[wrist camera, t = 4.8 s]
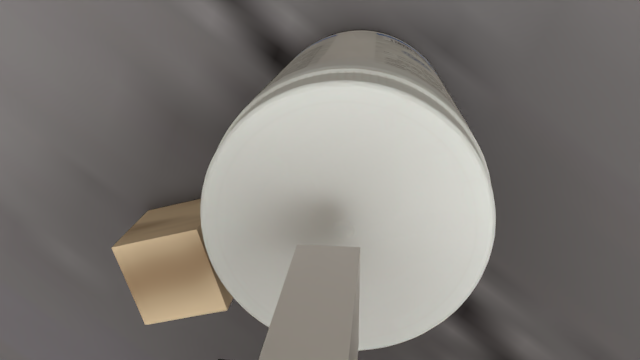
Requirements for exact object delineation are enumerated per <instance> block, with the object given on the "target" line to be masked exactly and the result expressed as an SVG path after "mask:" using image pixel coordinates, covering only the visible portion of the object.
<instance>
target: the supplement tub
mask: <svg viewBox="0 0 640 360" xmlns="http://www.w3.org/2000/svg"><path fill="white" fill-rule="evenodd" d="M200 217H201V228H202V234H203V240H204V244H205V247H206V250H207V253H208V256H209V259H210V261H211V263H212V266H213V268H214V270H215V272H216V273H217V275H218V277H219V279H220V280H221V282H222V283H223V285H224V286H225V288H226V289H227V290H228V292H229V293H230V294H231V295H232V296H233V298H234V299H235V300H236V301H237V302H238V303H239V304H240V305H241V306H242V307H243V308H244V309H245V310H246V311H247V312H248V313H249V314H251V315H252V316H253V317H254V318H256V319H257V320H258V321H260V322H261V323H263V324H264V325H266V326H267V327H270V324H271V321H272V318H273V315H274V312H275V309H276V306H277V303H278V300H279V297H280V294H281V291H282V288H283V285H284V282H285V279H286V276H287V273H288V270H289V267H290V264H291V261H292V258H293V255H294V252H295V249H296V246H297V244H300V245H323V246H346V247H360V296H359V347H358V350H371V349H377V348H384V347H388V346H392V345H396V344H399V343H402V342H405V341H407V340H410V339H413V338H415V337H417V336H419V335H421V334H423V333H425V332H427V331H429V330H430V329H432V328H434V327H435V326H437V325H438V324H440V323H441V322H443V321H444V320H445V319H447V318H448V317H449V316H450V315H451V314H453V313H454V312H455V311H456V310H457V309H458V308H459V307H460V306H461V305H462V304H463V303H464V301H465V300H466V299H467V298H468V297H469V295H470V294H471V293H472V291H473V290H474V288H475V287H476V285H477V284H478V282H479V280H480V278H481V277H482V274H483V272H484V270H485V268H486V266H487V263H488V261H489V258H490V254H491V251H492V247H493V242H494V237H495V227H496V211H495V202H494V195H493V191H492V187H491V181H490V175H489V171H488V168H487V164H486V161H485V158H484V155H483V153H482V151H481V149H480V147H479V145H478V143H477V141H476V139H475V138H474V136H473V134H472V133H471V131H470V129H469V127H468V125H467V123H466V122H465V120H464V118H463V117H462V115H461V114H460V112H459V110H458V109H457V107H456V105H455V104H454V102H453V100H452V98H451V97H450V95H449V94H448V92H447V90H446V89H445V87H444V86H443V84H442V82H441V81H440V79H439V77H438V75H437V74H436V72H435V71H434V69H433V67H432V66H431V65H430V63H429V62H428V61H427V60H426V59H425V57H424V56H422V55H421V54H420V53H419V52H418V51H417V50H415V49H414V48H413V47H411V46H410V45H409V44H407V43H405V42H403V41H402V40H400V39H398V38H395V37H393V36H390V35H387V34H384V33H380V32H375V31H367V30H355V31H347V32H342V33H337V34H334V35H331V36H328V37H326V38H323V39H321V40H319V41H317V42H315V43H313V44H312V45H310V46H309V47H307V48H306V49H305V50H303V51H302V52H301V53H300V54H298V55H297V56H296V57H295V58H294V59H293V60H292V61H291V62H290V63H289V64H288V65H287V66H286V67H285V68H284V69H283V70H282V71H281V72H280V73H279V74H278V75H277V76H276V77H275V78H274V79H273V80H272V81H271V82H270V83H269V84H268V85H267V86H266V87H265V88H264V89H263V90H262V91H261V92H260V93H259V94H258V95H257V96H256V97H255V98H254V99H253V100H252V101H251V102H250V103H249V104H248V105H247V106H246V107H245V108H244V110H243V111H242V112H241V113H240V114H239V115H238V116H237V118H236V119H235V120H234V121H233V123H232V124H231V125H230V127H229V128H228V130H227V131H226V133H225V135H224V137H223V138H222V140H221V142H220V144H219V146H218V149H217V151H216V152H215V154H214V156H213V158H212V160H211V162H210V165H209V167H208V170H207V173H206V176H205V180H204V184H203V188H202V195H201V203H200Z"/></svg>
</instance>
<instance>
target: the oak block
mask: <svg viewBox="0 0 640 360" xmlns="http://www.w3.org/2000/svg"><path fill="white" fill-rule="evenodd" d="M200 203H201V199H198V200H193V201H189V202H184V203H180V204H175V205H171V206H166V207H162V208H157V209H153V210H148V211H147V212H146V213H145V214H144V215H143V216H142V217H141V218H140V219H139V220H138V221H137V222H136V223H135V224H134V225H133V226H132V227H131V228H130V229H129V230H128V231H127V232H126V233H125V234H124V235H123V236H122V237H121V238H120V239H119V240H118V241H117V242H116V243H115V245H114V246H113V247H112V250H113V252H114V254H115V257H116V259H117V261H118V264H119V266H120V268H121V270H122V273H123V275H124V277H125V280H126V282H127V284H128V286H129V289H130V291H131V293H132V296H133V298H134V300H135V302H136V305H137V307H138V309H139V312H140V314H141V316H142V318H143V321H144V323H145V325H148V324H154V323H159V322H165V321H170V320H176V319H181V318H187V317H193V316H198V315H204V314H209V313H215V312H220V311H226V310H228V308H229V306H230V303H231V301H232V299H233V296H232V295H231V294H230V293H229V292H228V290H227V289H226V288H225V286H224V285H223V283H222V282H221V280H220V279H219V277H218V275H217V273H216V272H215V270H214V268H213V266H212V263H211V261H210V259H209V256H208V253H207V250H206V247H205V244H204V240H203V234H202V228H201V217H200Z"/></svg>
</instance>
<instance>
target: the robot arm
mask: <svg viewBox="0 0 640 360" xmlns="http://www.w3.org/2000/svg"><path fill="white" fill-rule="evenodd" d="M359 296H360V247H346V246H323V245H300V244H297V246H296V249H295V252H294V255H293V258H292V261H291V264H290V267H289V270H288V273H287V276H286V279H285V282H284V285H283V288H282V291H281V294H280V297H279V300H278V303H277V306H276V309H275V312H274V315H273V318H272V321H271V324H270V327H269V330H268V333H267V336H266V339H265V342H264V345H263V348H262V351H261V354H260V357H259V360H357V359H358V347H359ZM218 360H224V359H218Z"/></svg>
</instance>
